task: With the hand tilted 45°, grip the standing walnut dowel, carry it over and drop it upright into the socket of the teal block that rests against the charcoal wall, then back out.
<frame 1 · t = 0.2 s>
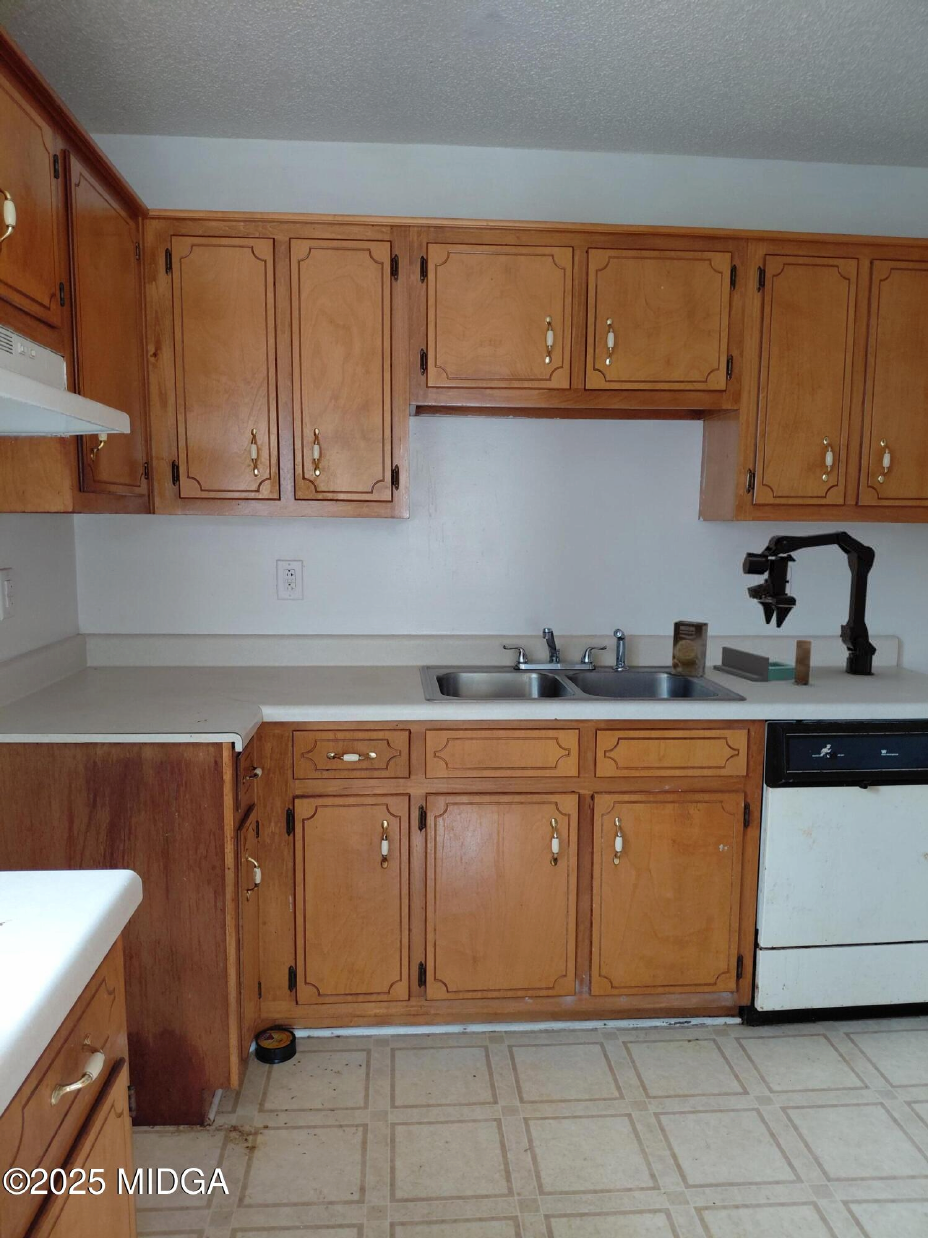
hand: (772, 625, 269), 14 cm above the countertop, tool pointing down, fingers open, 9 cm apart
backstop wall: (743, 674, 265), on the countertop
coffee box: (688, 675, 265), on the countertop
socket block: (772, 677, 263), on the countertop
dowel: (801, 683, 252), on the countertop
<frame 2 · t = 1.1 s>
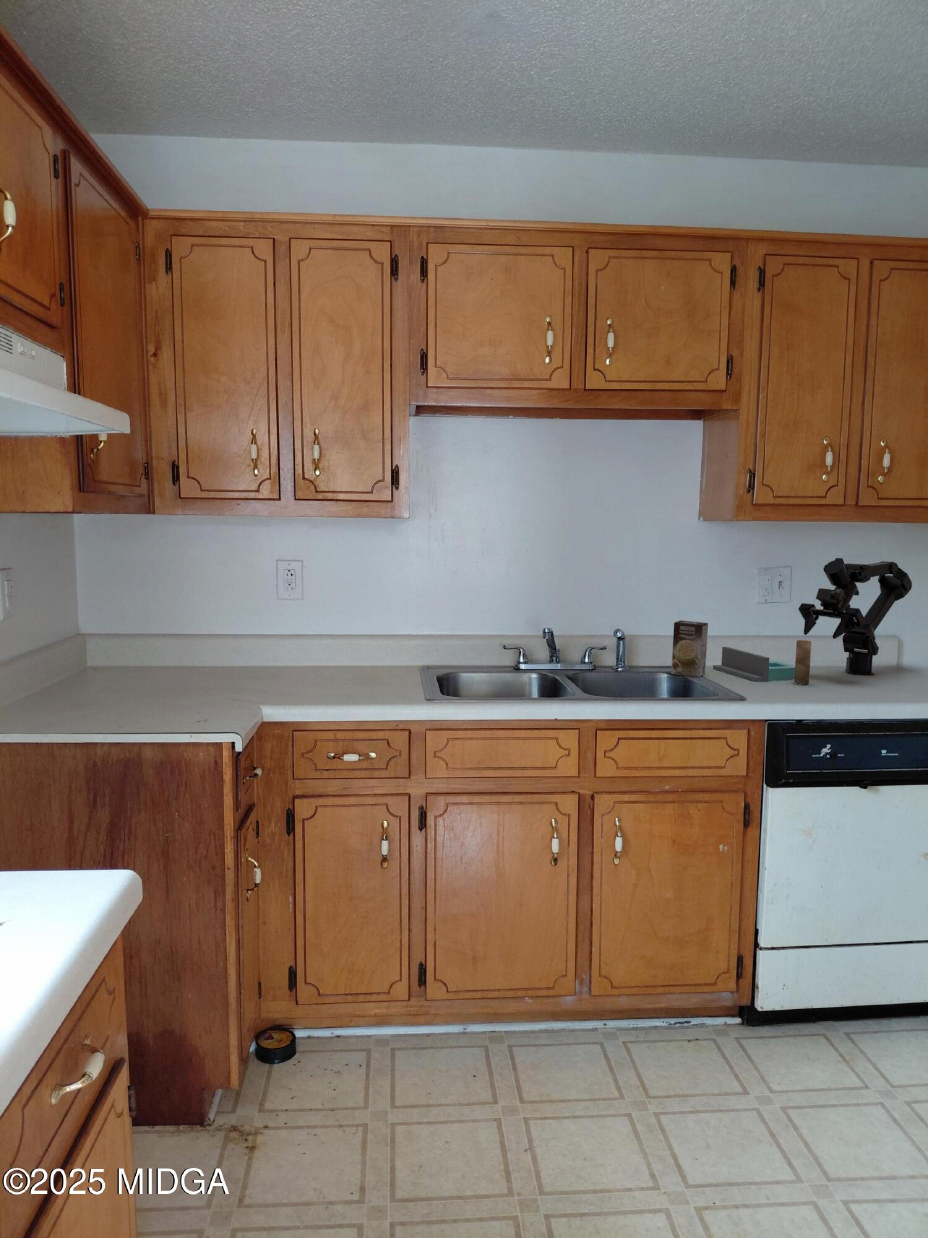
hand: (818, 636, 255), 13 cm above the countertop, tool tilted 45°, fingers open, 9 cm apart
nothing on the countertop moved.
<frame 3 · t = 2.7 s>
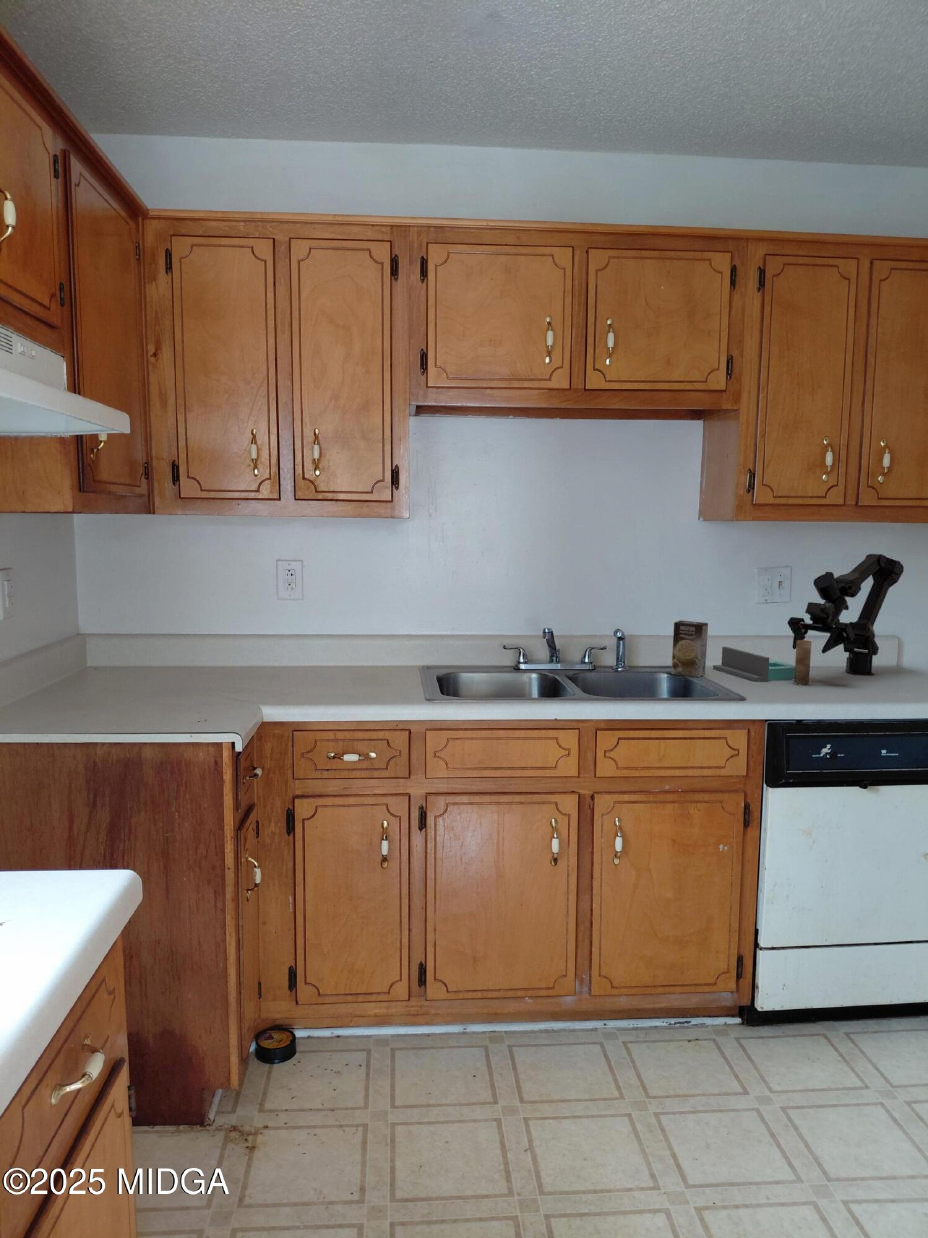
hand: (807, 650, 252), 10 cm above the countertop, tool tilted 45°, fingers open, 9 cm apart
nothing on the countertop moved.
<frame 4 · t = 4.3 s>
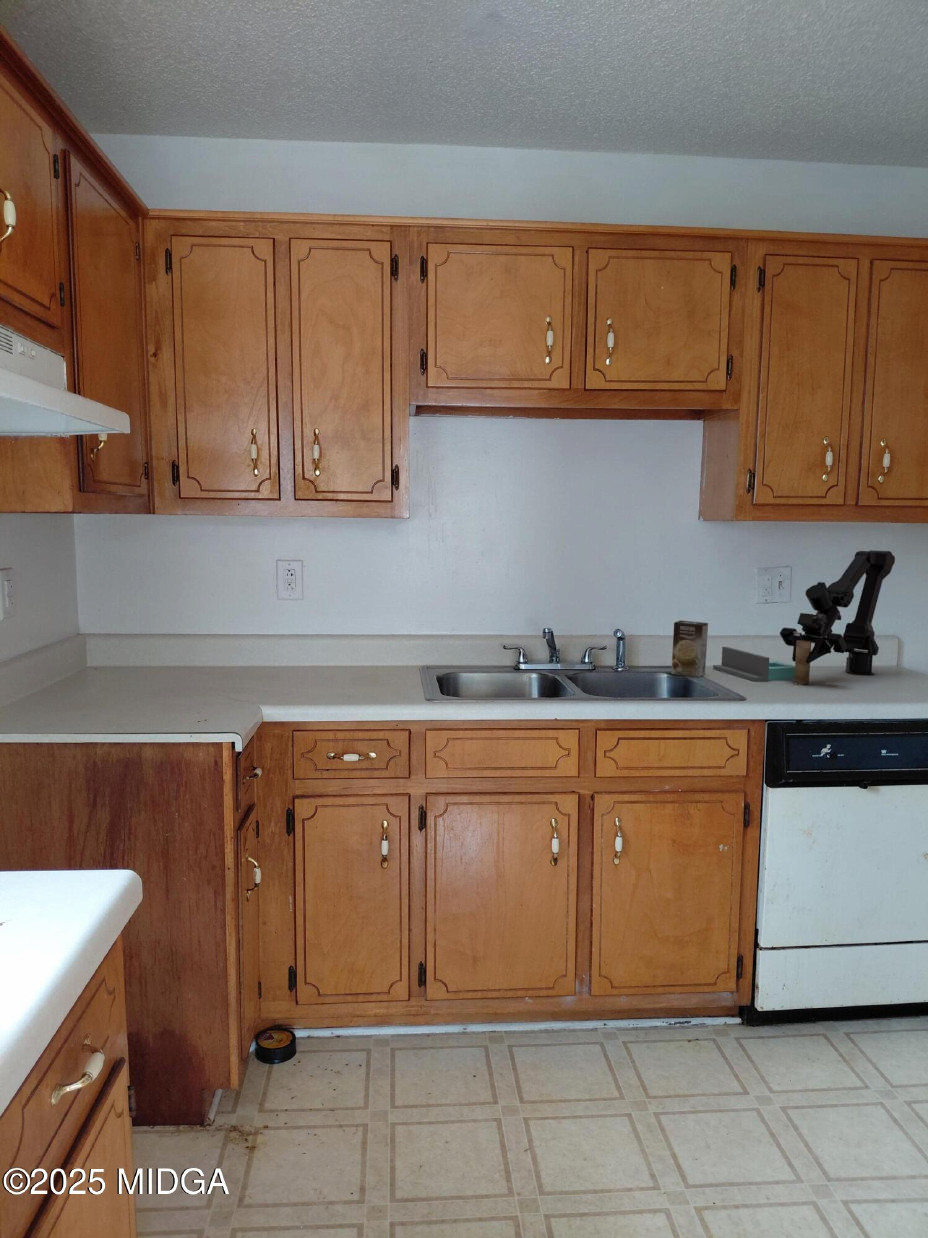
hand: (800, 661, 250), 7 cm above the countertop, tool tilted 45°, fingers closed on dowel, 4 cm apart
dowel: (801, 683, 252), on the countertop, touching gripper
everything else where it was.
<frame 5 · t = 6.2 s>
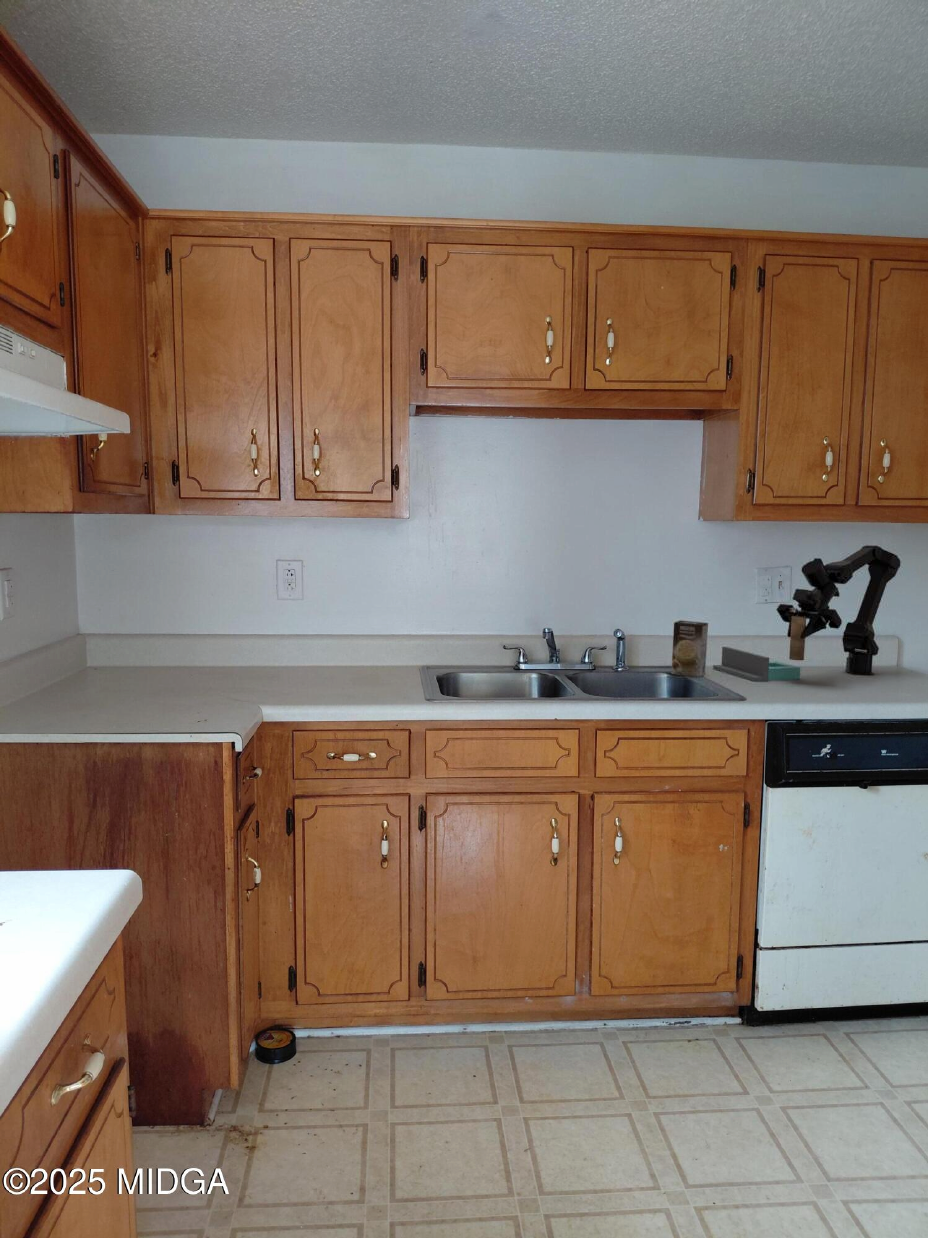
hand: (794, 637, 251), 13 cm above the countertop, tool tilted 45°, fingers closed on dowel, 4 cm apart
dowel: (796, 659, 253), point 7 cm above the countertop, touching gripper
everything else where it was.
when the fingers open (9 cm above the countertop, at t = 8.4 s): dowel drops 2 cm, resting on socket block.
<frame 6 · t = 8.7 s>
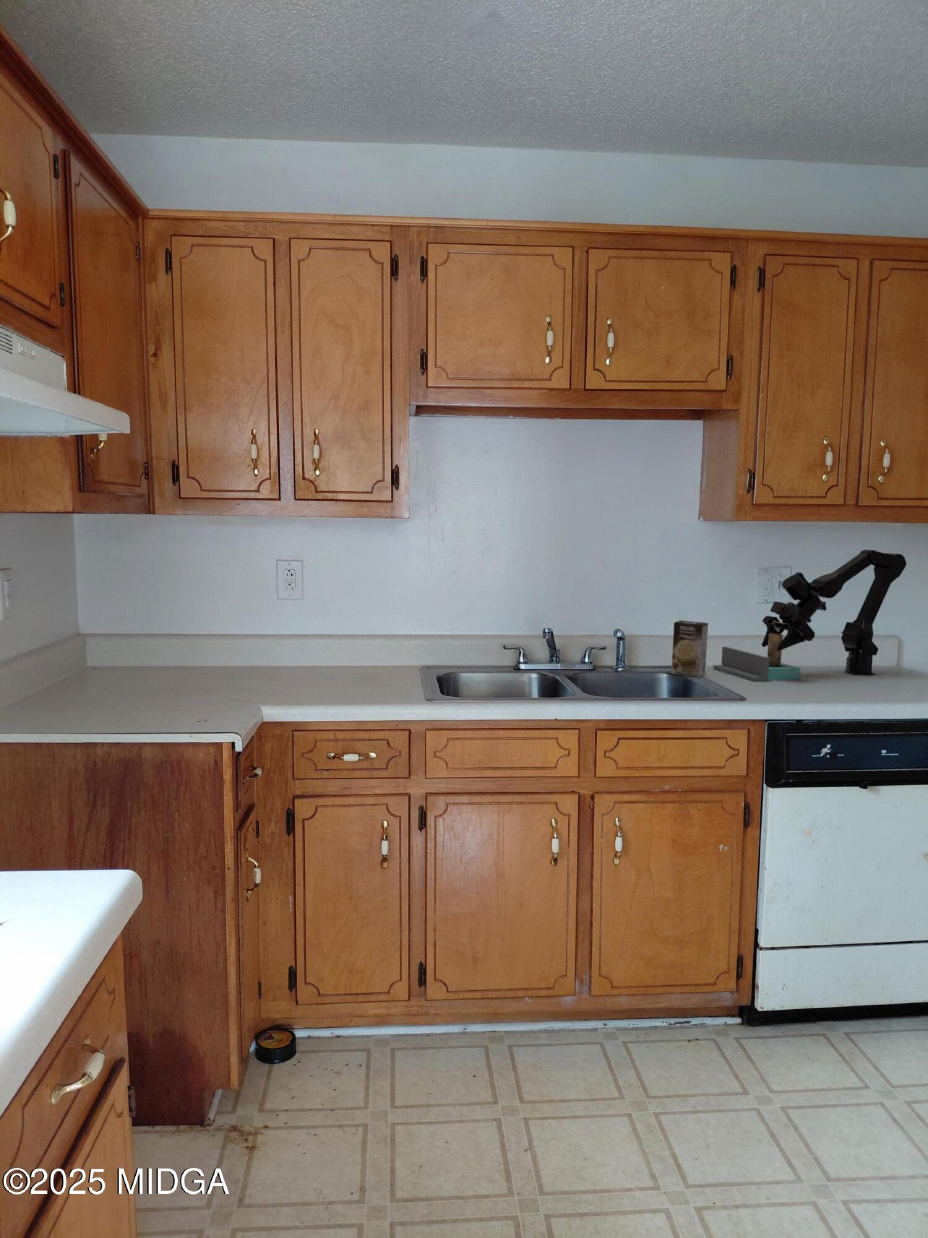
hand: (770, 647, 261), 9 cm above the countertop, tool tilted 45°, fingers open, 7 cm apart
socket block: (772, 678, 263), on the countertop, touching dowel
dowel: (772, 675, 262), point 1 cm above the countertop, touching socket block
everything else where it was.
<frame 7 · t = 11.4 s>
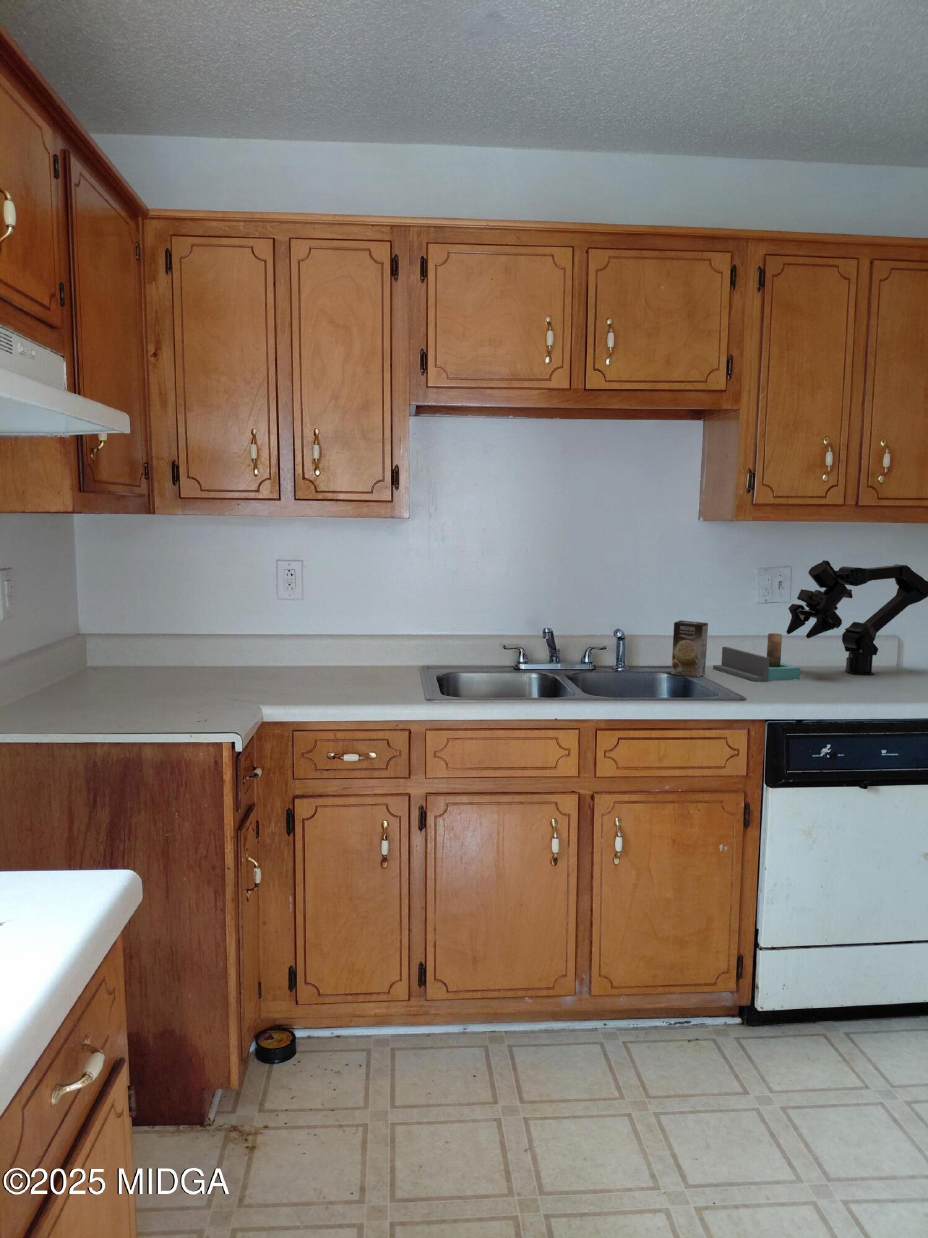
hand: (796, 635, 263), 12 cm above the countertop, tool tilted 45°, fingers open, 9 cm apart
nothing on the countertop moved.
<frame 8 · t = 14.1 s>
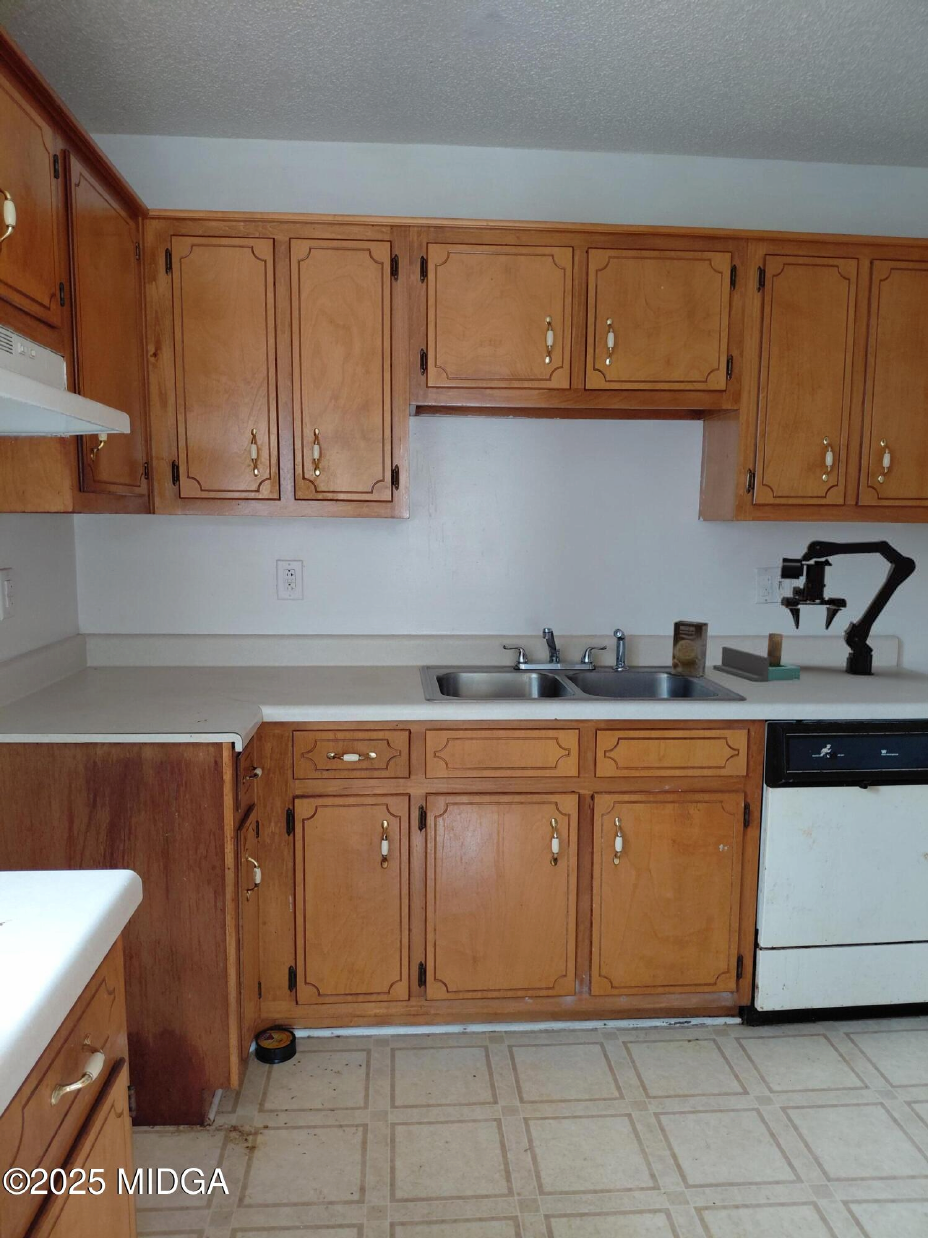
hand: (811, 629, 274), 13 cm above the countertop, tool pointing down, fingers open, 9 cm apart
nothing on the countertop moved.
at the end: dowel 0.1 cm off-centre on the socket block, point 1.0 cm above the socket block's base; dowel tilted 1°; socket block moved 0.5 cm from its start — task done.
